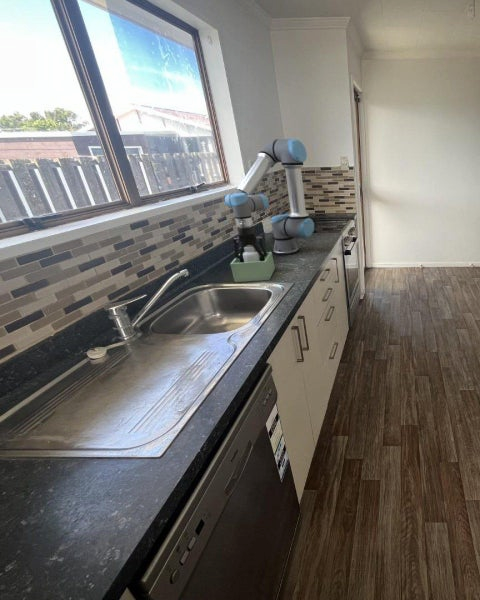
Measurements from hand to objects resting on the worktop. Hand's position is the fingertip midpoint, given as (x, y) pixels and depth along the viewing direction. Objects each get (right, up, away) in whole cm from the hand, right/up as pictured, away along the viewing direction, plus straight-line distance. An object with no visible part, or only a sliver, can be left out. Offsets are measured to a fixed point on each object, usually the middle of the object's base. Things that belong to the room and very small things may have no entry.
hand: (254, 269), depth 171 cm
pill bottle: (0, -2, +1) cm, 2 cm away
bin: (0, -3, +1) cm, 3 cm away
